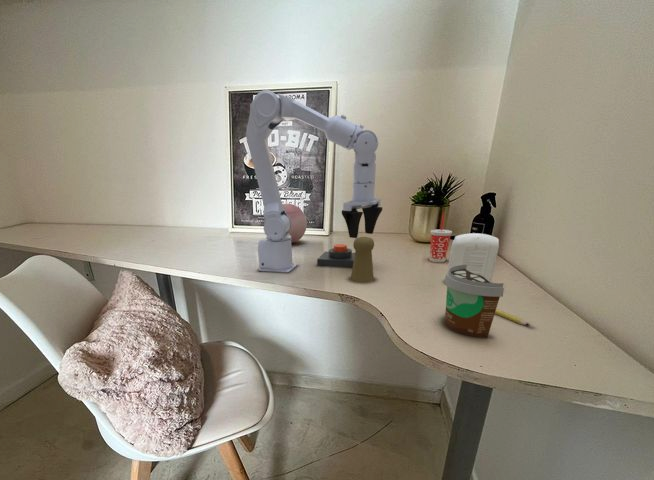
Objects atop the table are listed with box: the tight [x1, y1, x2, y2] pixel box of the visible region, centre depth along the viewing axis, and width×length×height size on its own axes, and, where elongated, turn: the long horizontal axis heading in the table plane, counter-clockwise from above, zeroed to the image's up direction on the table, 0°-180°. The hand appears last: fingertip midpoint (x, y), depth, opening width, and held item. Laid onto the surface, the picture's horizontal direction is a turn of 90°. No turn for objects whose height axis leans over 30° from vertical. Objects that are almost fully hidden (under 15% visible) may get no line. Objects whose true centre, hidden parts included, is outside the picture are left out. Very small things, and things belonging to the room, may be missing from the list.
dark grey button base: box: [316, 247, 355, 269], centre depth 103 cm, size 12×10×4 cm
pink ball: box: [282, 203, 308, 244], centre depth 129 cm, size 15×15×15 cm
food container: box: [443, 265, 505, 338], centre depth 59 cm, size 12×6×10 cm, turn 5°
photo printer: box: [446, 232, 500, 283], centre depth 80 cm, size 10×4×12 cm, turn 72°
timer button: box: [333, 243, 348, 252], centre depth 102 cm, size 4×4×2 cm
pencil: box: [494, 308, 531, 326], centre depth 66 cm, size 1×14×1 cm, turn 24°
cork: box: [350, 236, 375, 283], centre depth 86 cm, size 6×6×11 cm
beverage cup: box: [429, 213, 453, 263], centre depth 101 cm, size 6×6×14 cm
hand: (361, 235), depth 93 cm, fingers open, 7 cm apart
